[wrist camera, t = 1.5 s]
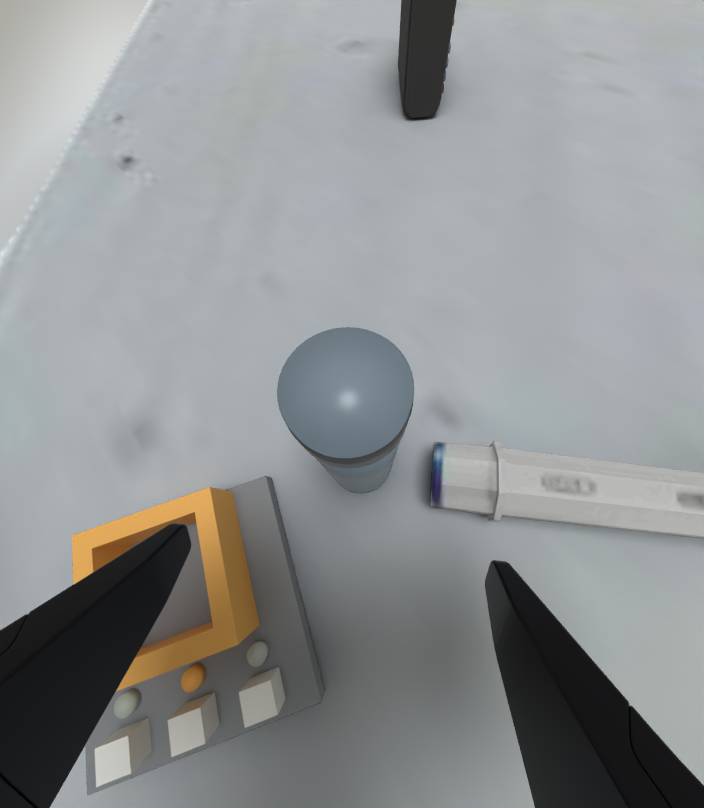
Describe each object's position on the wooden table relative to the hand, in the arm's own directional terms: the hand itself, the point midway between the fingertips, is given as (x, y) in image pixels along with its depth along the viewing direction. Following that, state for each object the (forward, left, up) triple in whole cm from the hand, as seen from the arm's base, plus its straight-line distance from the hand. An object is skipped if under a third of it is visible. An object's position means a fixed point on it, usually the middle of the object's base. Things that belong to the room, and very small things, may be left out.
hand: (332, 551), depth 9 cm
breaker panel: (-1, +10, -11) cm, 15 cm away
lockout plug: (+4, -2, -11) cm, 12 cm away
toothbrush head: (-4, -17, -12) cm, 21 cm away
